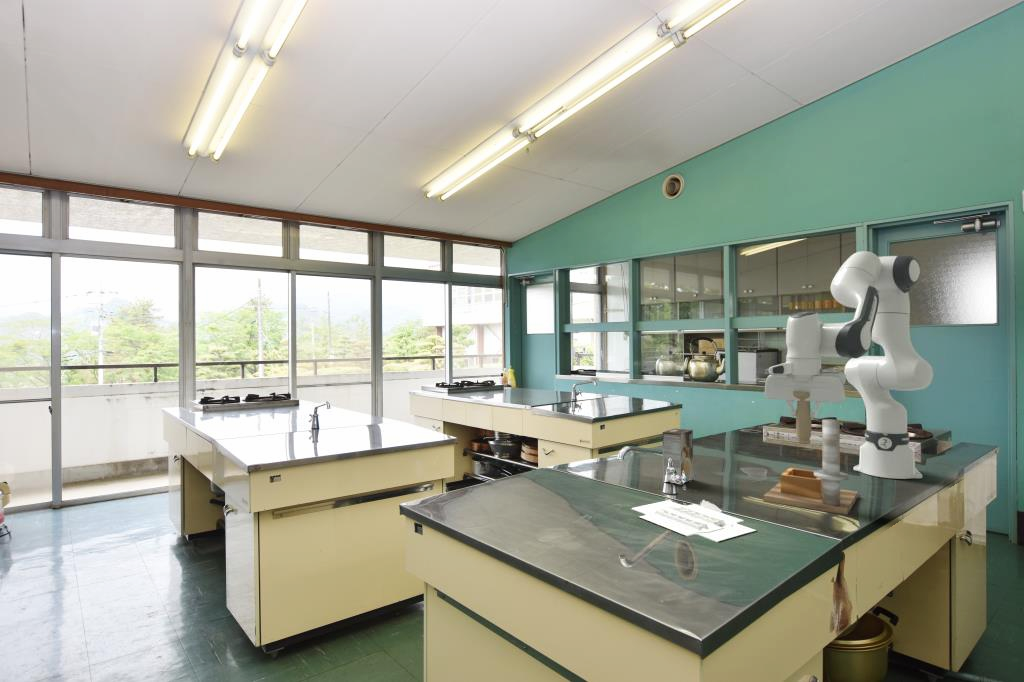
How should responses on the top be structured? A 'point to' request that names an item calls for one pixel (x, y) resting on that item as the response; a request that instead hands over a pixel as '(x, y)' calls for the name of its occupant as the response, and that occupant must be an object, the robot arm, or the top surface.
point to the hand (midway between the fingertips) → (803, 416)
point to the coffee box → (678, 451)
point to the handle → (803, 418)
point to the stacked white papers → (694, 519)
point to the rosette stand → (817, 480)
